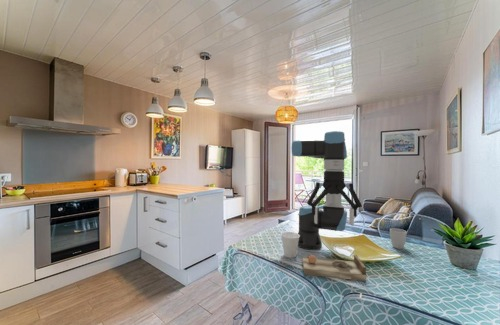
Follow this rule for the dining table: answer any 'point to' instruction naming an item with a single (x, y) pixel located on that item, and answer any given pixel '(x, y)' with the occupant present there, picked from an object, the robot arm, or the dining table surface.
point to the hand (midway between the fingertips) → (333, 223)
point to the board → (336, 268)
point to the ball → (312, 259)
